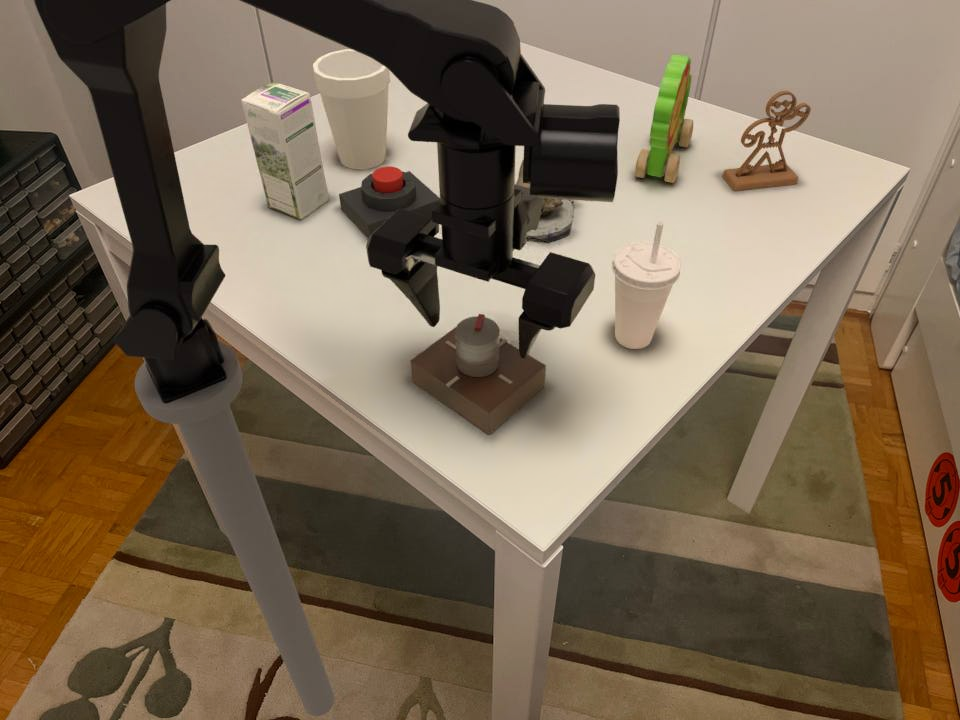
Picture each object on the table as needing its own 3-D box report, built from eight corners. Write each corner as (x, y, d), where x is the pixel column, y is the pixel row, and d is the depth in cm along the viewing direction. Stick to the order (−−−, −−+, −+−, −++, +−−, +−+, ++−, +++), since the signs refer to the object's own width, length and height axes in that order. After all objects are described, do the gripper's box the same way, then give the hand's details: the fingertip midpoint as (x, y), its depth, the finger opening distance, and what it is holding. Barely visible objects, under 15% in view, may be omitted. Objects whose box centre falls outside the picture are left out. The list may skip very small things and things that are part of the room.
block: (369, 240, 89) (366, 211, 86) (341, 209, 94) (336, 181, 91) (441, 214, 93) (440, 186, 90) (410, 185, 98) (408, 158, 95)
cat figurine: (483, 241, 90) (484, 203, 86) (499, 180, 97) (501, 142, 92) (566, 253, 89) (572, 215, 84) (577, 190, 96) (582, 152, 91)
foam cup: (398, 140, 106) (390, 48, 97) (395, 174, 100) (386, 79, 91) (331, 141, 106) (317, 49, 97) (324, 175, 100) (307, 80, 90)
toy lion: (654, 134, 107) (672, 25, 96) (692, 140, 106) (715, 31, 95) (627, 189, 97) (644, 74, 86) (669, 198, 95) (692, 82, 84)
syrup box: (331, 199, 95) (312, 90, 85) (299, 222, 92) (276, 110, 82) (297, 187, 98) (275, 78, 87) (265, 208, 94) (238, 98, 84)
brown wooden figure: (733, 191, 96) (757, 102, 88) (721, 175, 99) (743, 87, 90) (797, 183, 97) (827, 95, 89) (783, 168, 100) (811, 81, 92)
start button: (382, 197, 89) (380, 184, 88) (368, 184, 91) (367, 171, 90) (408, 188, 90) (407, 176, 89) (394, 175, 93) (393, 163, 91)
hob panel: (411, 382, 72) (409, 359, 70) (468, 339, 77) (468, 316, 74) (488, 435, 68) (488, 412, 65) (545, 386, 72) (547, 363, 70)
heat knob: (494, 380, 68) (495, 346, 65) (452, 374, 69) (450, 340, 66) (502, 350, 71) (503, 316, 68) (461, 345, 72) (460, 311, 69)
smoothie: (649, 366, 74) (674, 251, 64) (591, 343, 76) (606, 228, 66) (674, 329, 77) (701, 215, 68) (617, 308, 80) (635, 195, 70)
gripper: (629, 168, 59) (607, 317, 70) (424, 118, 65) (433, 262, 76) (575, 242, 52) (560, 395, 63) (352, 179, 58) (373, 328, 69)
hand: (478, 339), depth 68 cm, fingers open, 9 cm apart
